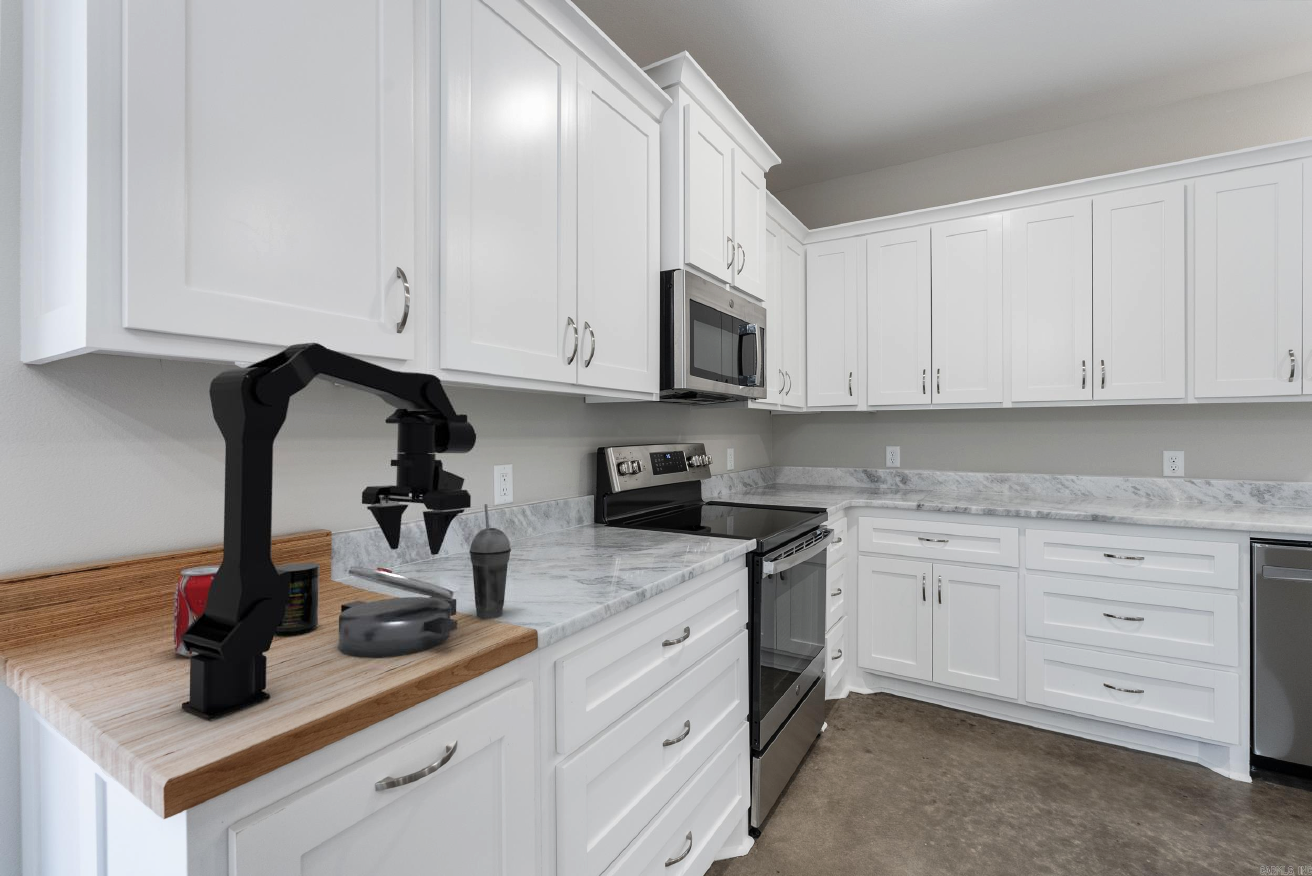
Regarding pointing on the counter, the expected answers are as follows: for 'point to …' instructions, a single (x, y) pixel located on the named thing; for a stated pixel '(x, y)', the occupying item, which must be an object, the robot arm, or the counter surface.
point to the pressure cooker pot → (395, 626)
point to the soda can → (190, 601)
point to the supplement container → (301, 600)
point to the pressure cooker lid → (400, 582)
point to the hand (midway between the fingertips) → (414, 551)
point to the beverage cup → (489, 570)
